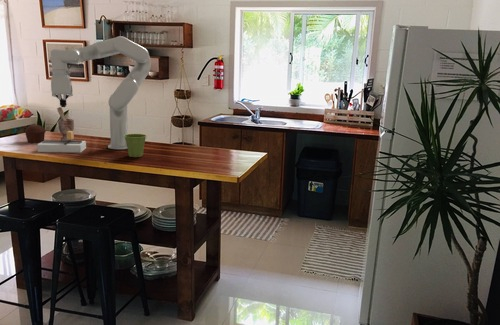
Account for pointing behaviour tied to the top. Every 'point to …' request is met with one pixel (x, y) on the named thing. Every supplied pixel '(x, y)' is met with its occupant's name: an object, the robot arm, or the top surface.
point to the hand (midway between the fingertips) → (63, 107)
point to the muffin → (35, 133)
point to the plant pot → (135, 144)
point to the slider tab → (70, 136)
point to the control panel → (61, 146)
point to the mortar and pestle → (65, 125)
